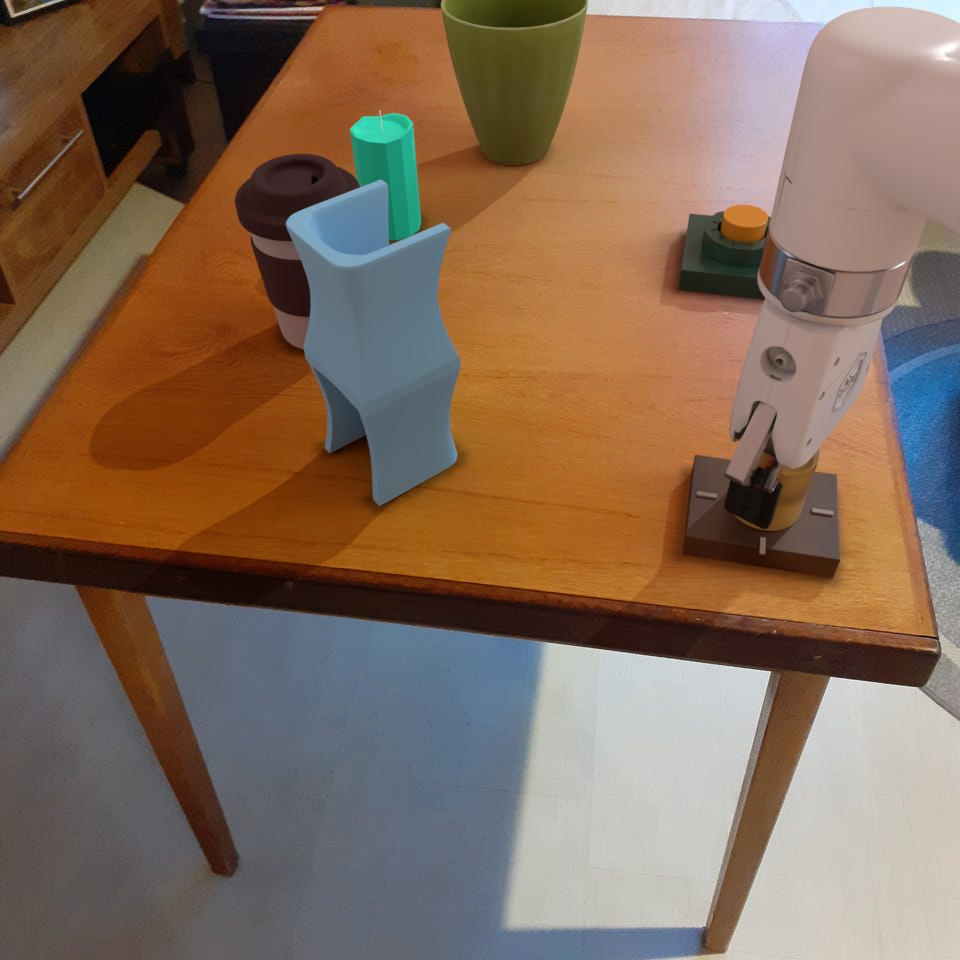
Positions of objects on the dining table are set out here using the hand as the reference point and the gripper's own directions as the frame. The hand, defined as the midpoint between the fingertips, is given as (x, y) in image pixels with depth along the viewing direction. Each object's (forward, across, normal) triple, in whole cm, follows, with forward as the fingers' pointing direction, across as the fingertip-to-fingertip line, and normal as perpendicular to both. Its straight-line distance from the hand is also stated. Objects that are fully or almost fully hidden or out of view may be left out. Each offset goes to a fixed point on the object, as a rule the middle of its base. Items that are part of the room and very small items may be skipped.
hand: (767, 490), depth 63 cm
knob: (+1, 0, 0) cm, 1 cm away
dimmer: (+3, 0, 0) cm, 3 cm away
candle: (+4, +14, +48) cm, 50 cm away
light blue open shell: (+4, -10, +25) cm, 28 cm away
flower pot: (+4, +34, +48) cm, 59 cm away
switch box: (+3, +28, +17) cm, 33 cm away
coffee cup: (+4, -3, +41) cm, 42 cm away
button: (0, +28, +17) cm, 33 cm away
